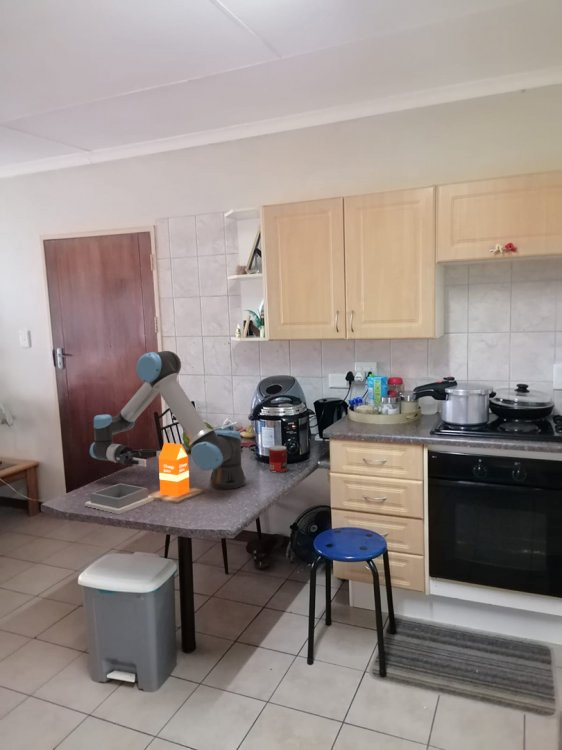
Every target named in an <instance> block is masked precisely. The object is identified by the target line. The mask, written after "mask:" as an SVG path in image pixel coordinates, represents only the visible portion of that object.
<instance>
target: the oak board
mask: <svg viewBox="0 0 562 750" xmlns="http://www.w3.org/2000/svg"><path fill="white" fill-rule="evenodd" d="M203 492H204V489H199V488H193V487H189V492H187V493H185V494H183V495H180V496H178V497H177V496H171V495H164V494H160V489H159V490H156V491H154V492H151V493H148V496H153V497H154V500H155V499H156V501H160V500H161V502H165V501H167V502H166V503H170V502H172V503H171V504H175V503H178V504H180V503H179V502H181V503H182V501H183V502H185V501H187V500H189V498H190V499H191V497H192V498H194V497H196V495H197V496H198V494H199V495H202V494H203ZM186 499H187V500H186ZM184 500H185V501H184Z"/></svg>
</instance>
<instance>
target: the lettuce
mask: <svg viewBox="0 0 562 750" xmlns="http://www.w3.org/2000/svg"><path fill="white" fill-rule="evenodd" d="M204 423H205V424H206V426H207V428H208V429H212V430H214V431H215V429H214V427H212V425H211V424H210V423H207V422H206V421H204ZM182 441H183V444H184V446H185V447H186V448H187V449H188V450H190V451H192V450H191V448H190V447H189V443H190V439H189V438H188V436H187V435H186V433H185V432H184V431H183V433H182Z"/></svg>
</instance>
